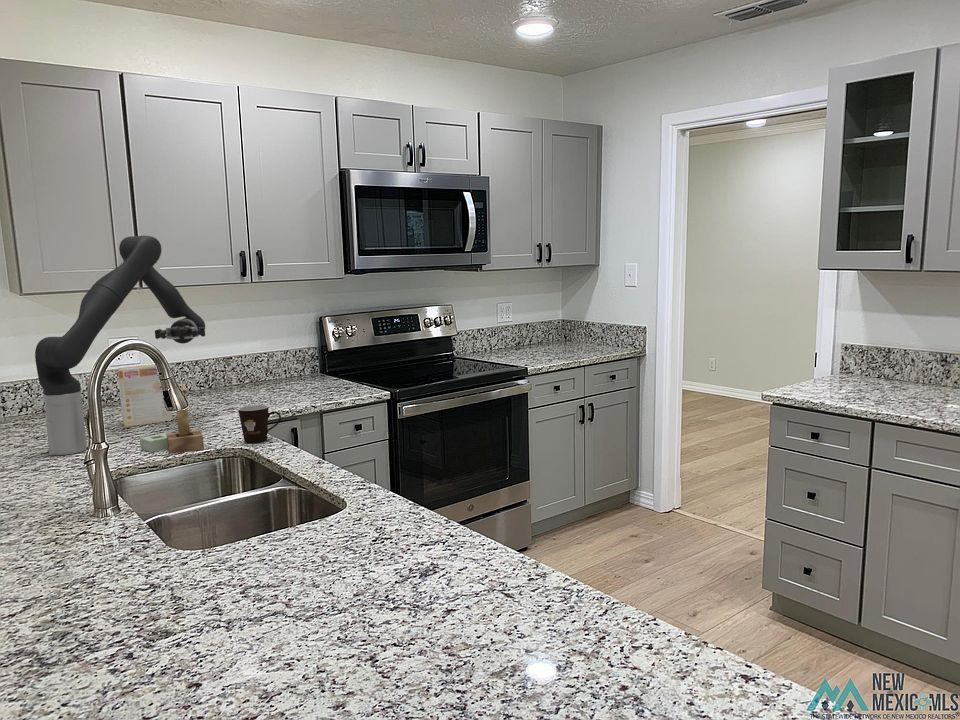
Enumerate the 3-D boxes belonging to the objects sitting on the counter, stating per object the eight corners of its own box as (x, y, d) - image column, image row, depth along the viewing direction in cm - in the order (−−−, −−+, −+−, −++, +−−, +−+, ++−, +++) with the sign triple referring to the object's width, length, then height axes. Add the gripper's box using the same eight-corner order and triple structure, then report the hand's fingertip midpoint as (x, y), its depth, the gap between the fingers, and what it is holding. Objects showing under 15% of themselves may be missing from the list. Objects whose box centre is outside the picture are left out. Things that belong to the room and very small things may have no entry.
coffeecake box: (169, 418, 251) (164, 363, 249) (173, 421, 245) (168, 365, 243) (122, 424, 244) (116, 367, 241) (125, 427, 238) (119, 369, 235)
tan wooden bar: (180, 450, 204) (174, 387, 201) (179, 447, 206) (173, 386, 204) (191, 448, 205) (186, 386, 203) (190, 446, 208) (185, 385, 205)
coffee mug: (234, 443, 210) (231, 409, 209) (255, 436, 217) (253, 404, 216) (263, 446, 204) (261, 412, 203) (284, 439, 212) (282, 406, 211)
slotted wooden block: (169, 453, 200) (168, 439, 199) (167, 447, 208) (166, 433, 207) (204, 449, 204) (202, 435, 203) (200, 442, 212) (199, 429, 211)
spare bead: (150, 452, 202) (149, 441, 202) (140, 448, 207) (139, 438, 206) (175, 447, 207) (174, 436, 207) (164, 443, 212) (164, 433, 211)
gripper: (158, 320, 228) (151, 323, 212) (206, 318, 232) (202, 320, 216) (160, 343, 229) (153, 348, 213) (208, 341, 233) (204, 345, 217)
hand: (178, 334), depth 215 cm, fingers open, 8 cm apart
